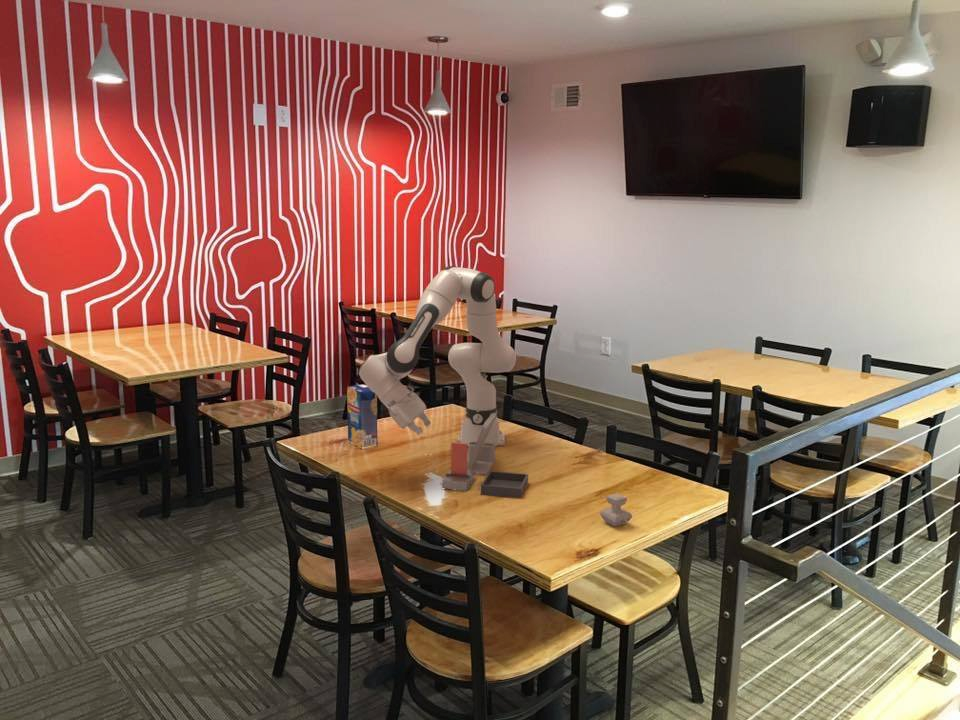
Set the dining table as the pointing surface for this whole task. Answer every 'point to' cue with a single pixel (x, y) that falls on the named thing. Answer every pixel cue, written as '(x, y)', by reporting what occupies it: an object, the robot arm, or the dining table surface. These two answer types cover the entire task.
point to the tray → (504, 484)
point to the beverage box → (362, 415)
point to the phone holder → (482, 450)
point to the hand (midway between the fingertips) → (425, 429)
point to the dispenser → (458, 480)
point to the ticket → (459, 458)
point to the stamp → (616, 511)
